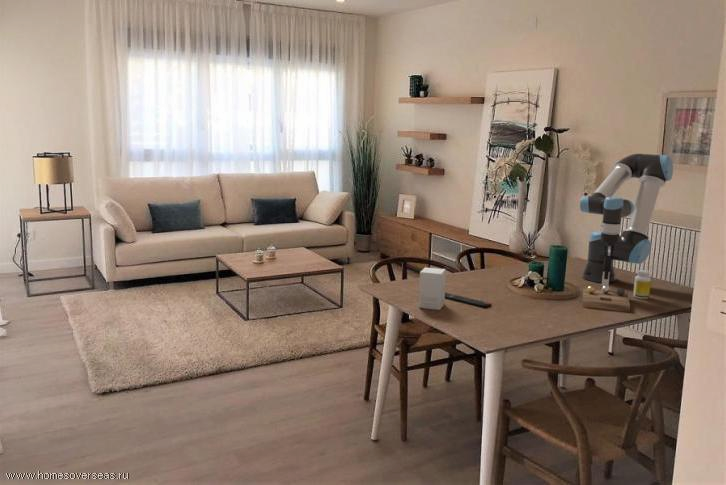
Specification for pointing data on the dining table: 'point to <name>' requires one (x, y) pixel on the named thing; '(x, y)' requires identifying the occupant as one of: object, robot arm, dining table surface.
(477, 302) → the remote control
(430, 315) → the dining table surface
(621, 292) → the rubber ball
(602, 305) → the board
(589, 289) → the brass ball
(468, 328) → the dining table surface
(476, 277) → the dining table surface
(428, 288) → the supplement box
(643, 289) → the pill bottle
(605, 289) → the steel ball
